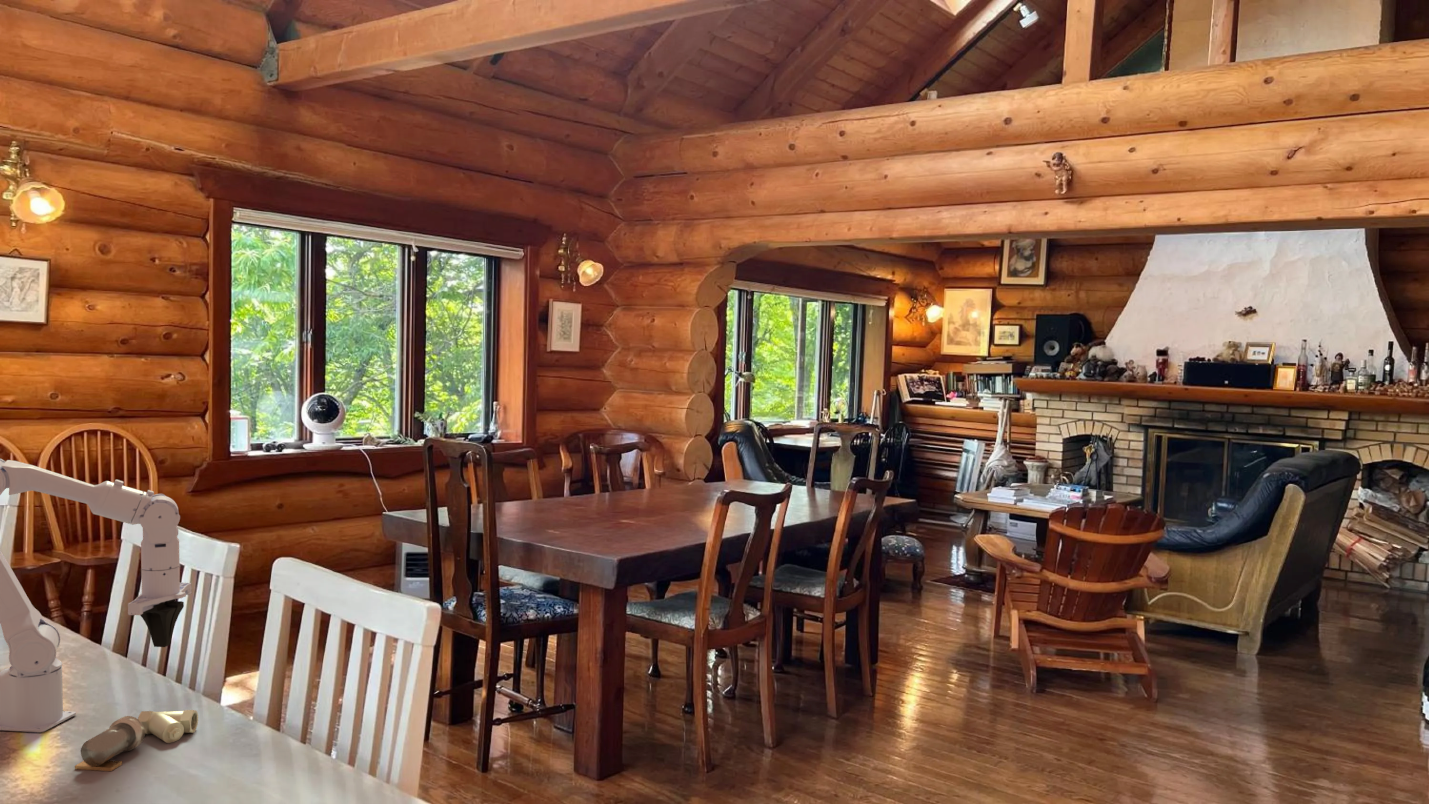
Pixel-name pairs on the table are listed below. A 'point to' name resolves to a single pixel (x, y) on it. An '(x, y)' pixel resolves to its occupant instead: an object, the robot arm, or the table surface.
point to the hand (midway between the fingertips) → (161, 645)
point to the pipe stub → (111, 744)
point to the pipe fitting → (169, 723)
